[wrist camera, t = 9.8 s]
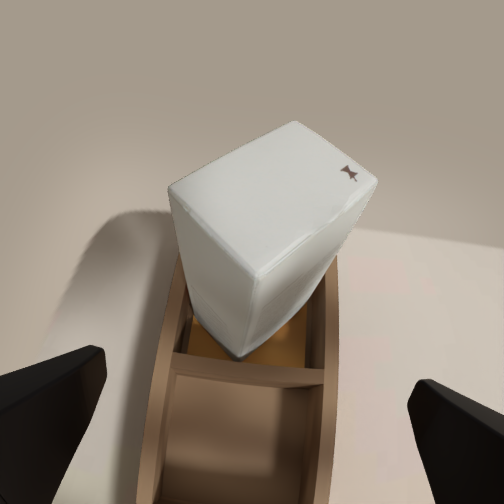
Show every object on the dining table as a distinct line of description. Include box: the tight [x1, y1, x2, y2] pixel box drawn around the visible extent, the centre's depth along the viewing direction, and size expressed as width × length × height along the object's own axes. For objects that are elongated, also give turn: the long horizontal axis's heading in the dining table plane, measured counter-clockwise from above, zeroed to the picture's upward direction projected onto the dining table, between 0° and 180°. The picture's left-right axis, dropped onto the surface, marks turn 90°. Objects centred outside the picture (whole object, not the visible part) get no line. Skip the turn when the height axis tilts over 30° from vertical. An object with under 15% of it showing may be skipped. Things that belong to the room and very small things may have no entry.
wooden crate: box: [136, 252, 339, 504], centre depth 14 cm, size 27×10×5 cm, turn 174°
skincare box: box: [168, 120, 378, 362], centre depth 14 cm, size 6×4×12 cm
